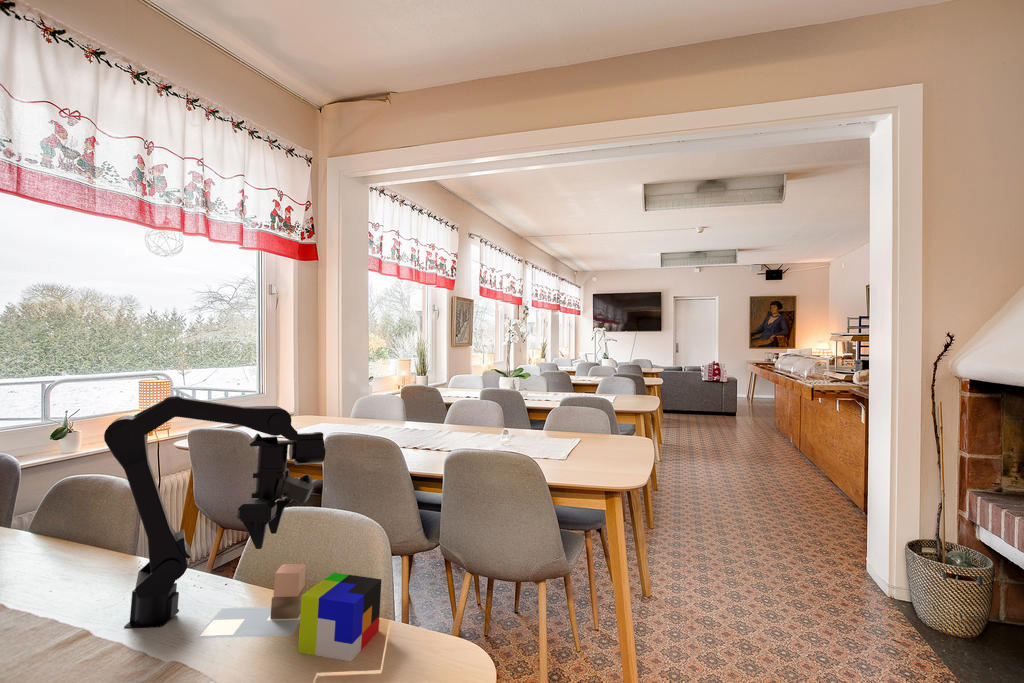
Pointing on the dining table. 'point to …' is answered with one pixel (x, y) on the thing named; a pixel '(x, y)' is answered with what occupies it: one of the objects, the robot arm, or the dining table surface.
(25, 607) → the dining table surface
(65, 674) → the dining table surface
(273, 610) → the block
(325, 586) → the puzzle toy
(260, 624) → the board
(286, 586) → the terracotta block
